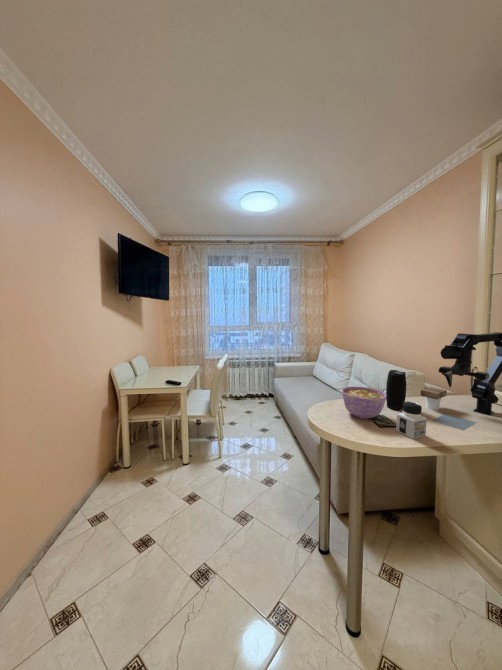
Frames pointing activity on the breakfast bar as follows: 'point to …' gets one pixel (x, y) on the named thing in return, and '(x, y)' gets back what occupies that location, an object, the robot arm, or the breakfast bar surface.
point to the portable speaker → (396, 389)
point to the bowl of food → (363, 401)
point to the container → (411, 421)
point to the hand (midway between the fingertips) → (461, 389)
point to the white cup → (433, 403)
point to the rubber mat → (454, 421)
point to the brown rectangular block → (433, 393)
